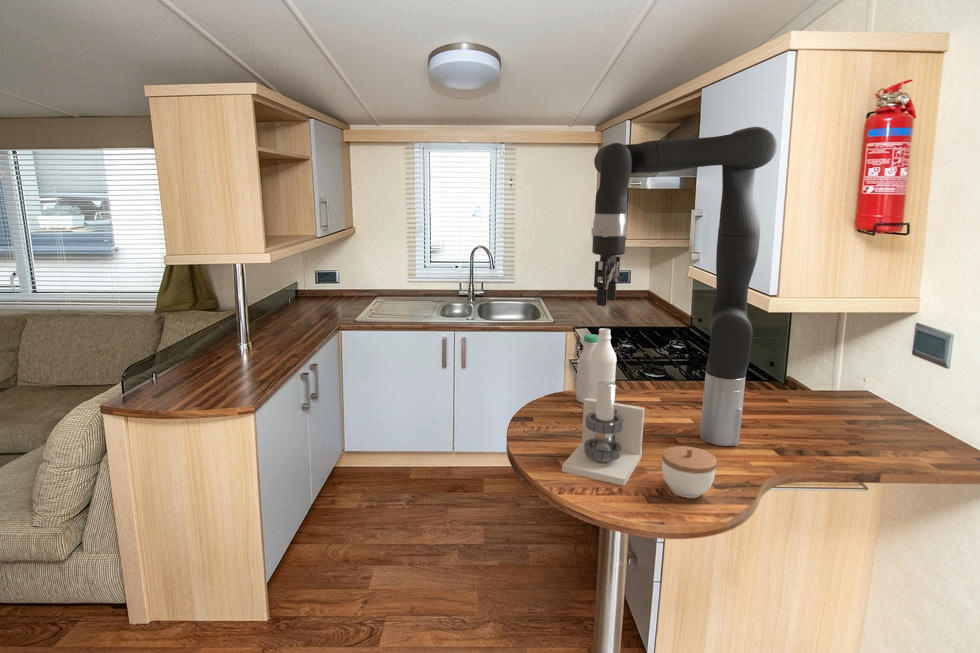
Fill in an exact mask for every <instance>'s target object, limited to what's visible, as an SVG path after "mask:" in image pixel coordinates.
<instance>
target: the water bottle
mask: <svg viewBox="0 0 980 653" xmlns="http://www.w3.org/2000/svg"><path fill="white" fill-rule="evenodd" d="M598 335H599V336H598V338H599V339H598V343H597V345H596V346H595V348H594V350H593V351H592V353H591V356H590V375H589V381H590V394H589V398H590V399H597V383H598V382H600V381H610V382H613V383H615V382H616V369H617V368H616V367H617V361H618V360H617V354H616V352H615V350H614V348H613V346H612V343H611V339H612V335H611V329H610V328H605V327H604V328H599V330H598ZM615 384H616V383H615Z"/></svg>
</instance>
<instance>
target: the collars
mask: <svg viewBox="0 0 980 653" xmlns="http://www.w3.org/2000/svg"><path fill="white" fill-rule="evenodd" d="M595 417H596V412H592V413H589V414H588V415H587V416H586V420H585V425H586V427H587V429H589V430H591V431H593V432H597V433H604V434H614V433H617V432H620V431H621V430H622V429H623V419H622V417H621V416H619V415H617V409H614V423H600V422H596V421H595ZM584 453H585V455H586V456H587V457H589V458H591V459H593V460H598V461H614V460H617V459H619V458H620V456H621V445H620V444H619V443H618V442H616V441H615V435H613V439H612V450H611V451H600V450H595V449H594V438H593V439H589V440H587V441H586V442H585V443H584Z"/></svg>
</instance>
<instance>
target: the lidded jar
mask: <svg viewBox="0 0 980 653" xmlns="http://www.w3.org/2000/svg"><path fill="white" fill-rule="evenodd" d="M661 459H662V461H661V464H662V465H661V471H662V476H663V479H664V482H665V484H666V485H667V486H668V487H669V489H670V490H671V492H672V491H673V492H674V493H675V495H676V496H678V495H679V496H678V497H681V496H682V497H681V498H684V497H686V498H685V499H696V497H697V498H700V497H701V496H702V495H703V494H704V493H706V492H707V491H709V490H710V488H711V486H712V485H713V483H714V480H715V477H716V470H717V469H716V468H717V465H718V459H717V458H716V457H715V456H714V454H712V453H710V452H708V451H706V450H704V449H702V448H697V447H692V446H685V445H683V446H682V445H681V446H679V445H676V446H670V447H667V448H665V449H664V450H663V451H662V454H661ZM673 492H672V493H673ZM674 493H673V494H674ZM701 494H702V495H701ZM700 495H701V496H700ZM699 496H700V497H699Z"/></svg>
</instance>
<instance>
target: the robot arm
mask: <svg viewBox="0 0 980 653" xmlns="http://www.w3.org/2000/svg"><path fill="white" fill-rule="evenodd" d="M777 149H778V141H777V138H776V136H775V134H774V133H773V132H772V131H771V130H769V129H768V128H765V127H761V126H750V127H745V128H741V129H739V130H736V131H733V132H731V133H730V134H729V133H728V134H723V135H716V136H710V137H696V138H695V137H692V138H690V137H689V138H671V139H669V138H668V139H659V140H648V141H644V142H639V143H630V144H623V143H620V142H613V143H610V144H606V145H604V146H603V147H601V148H600V149H599V150H598V151H597V153H595V156H594V160H593V162H594V167H595V169H596V171H597V172H598V173H599V174H600V175H599V176H600V177H599V187H598V189H597V191H596V194H595V199H594V217H593V218H594V219H593V224H592V227H593V228H592V247H591V250H592V251H591V252H592V254H594V255H597V256H598V255H599V257H600V258H599V261H598V260H596V261H595V262H594V277H593V278H594V279H593V280H594V282H593V287H594V288H595V290H596V305H597V306H599V307H601V306H603V307H604V306H607V304H608V301H609V300H610V301H614V300H616V296H617V295H616V294H617V293H616V292H617V285H618V282H619V281H620V270H621V269H620V268H621V264H620V263H621V256H622V255H625V253H626V242H627V241H626V240H627V238H626V237H627V193H628V188H629V183H630V179H631V174H638V173H639V174H641V173H643V174H652V173H653V174H655V173H666V172H675V171H683V170H688V169H694V168H703V167H712V166H713V167H714V166H721V170H722V173H721V174H722V177H721V178H722V183H721V184H722V189H721V190H722V192H721V199H720V200H721V201H720V202H721V203H720V210H719V223H718V229H717V230H718V231H717V241H716V255H715V256H716V257H715V258H716V259H715V261H716V262H715V272H716V273H715V274H716V275H715V276H716V277H715V278H716V283H715V284H716V289H715V295H714V302H713V306H712V310H711V315H710V318H709V325H708V328H709V332H710V339H709V350H708V358H707V361H706V366H705V367H706V368H705V377H704V386H703V387H704V388H703V396H702V410H701V418H700V429H699V437H700V439H701V440H703V441H704V442H706V443H709V444H711V445H715V446H724V447H725V446H726V447H728V446H729V447H730V446H733V447H738V446H739V442H740V435H741V427H742V420H743V419H742V418H743V409H744V408H743V407H744V397H745V396H744V394H745V384H746V376H747V370H748V368H749V364H750V358H751V350H752V342H753V325H752V323H751V321H750V320H749V318H748V295H749V294H748V292H749V286H750V283H751V279H752V276H753V273H754V270H755V267H756V264H757V259H758V255H759V247H760V236H761V222H760V218H759V213H758V210H757V205H756V201H755V197H754V182H755V175H756V169H760V168H762V167H764V166H765V165H768V163H770V162H771V161H772V159H773V158H774V157H775V155H776V153H777Z"/></svg>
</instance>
